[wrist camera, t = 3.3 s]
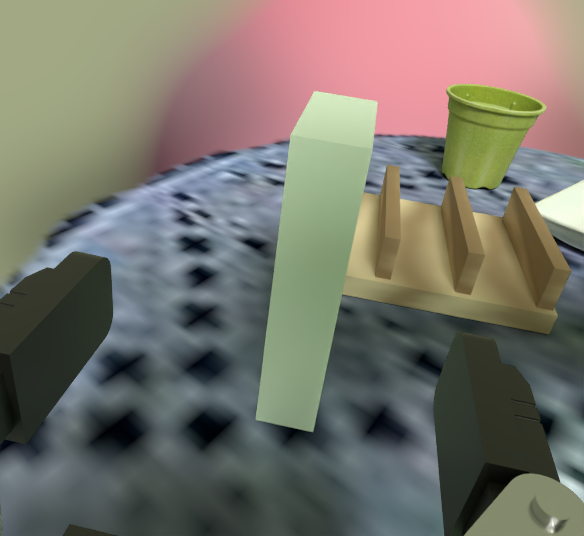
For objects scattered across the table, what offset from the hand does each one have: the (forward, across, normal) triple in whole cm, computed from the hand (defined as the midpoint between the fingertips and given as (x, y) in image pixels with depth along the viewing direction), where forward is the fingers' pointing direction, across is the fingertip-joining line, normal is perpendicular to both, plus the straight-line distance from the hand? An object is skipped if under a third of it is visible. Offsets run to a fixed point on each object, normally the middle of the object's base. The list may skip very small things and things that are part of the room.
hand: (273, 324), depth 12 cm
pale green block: (+11, 0, +12) cm, 17 cm away
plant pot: (+46, -14, +12) cm, 50 cm away
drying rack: (+27, -7, +12) cm, 30 cm away
